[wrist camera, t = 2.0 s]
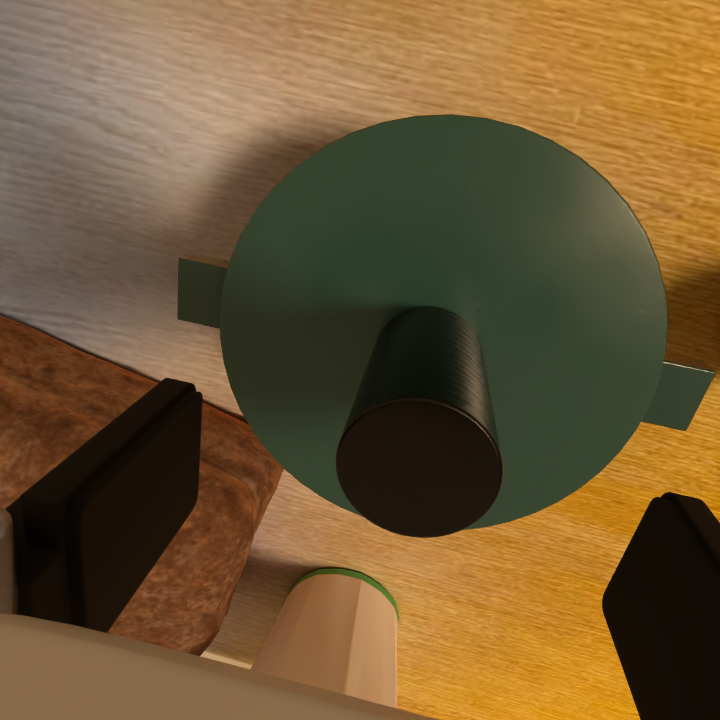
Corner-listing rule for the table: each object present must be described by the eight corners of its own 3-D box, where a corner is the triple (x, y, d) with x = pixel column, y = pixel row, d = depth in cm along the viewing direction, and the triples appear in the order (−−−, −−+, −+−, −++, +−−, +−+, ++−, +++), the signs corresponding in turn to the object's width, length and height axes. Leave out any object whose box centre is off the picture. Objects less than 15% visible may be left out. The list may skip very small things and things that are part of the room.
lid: (247, 77, 15) (79, 17, 8) (738, 165, 14) (1024, 182, 7) (222, 464, 21) (112, 618, 14) (566, 547, 20) (630, 760, 13)
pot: (276, 107, 25) (169, 81, 15) (668, 179, 23) (824, 200, 14) (255, 355, 30) (166, 450, 21) (569, 425, 29) (631, 563, 19)
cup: (347, 688, 41) (295, 967, 27) (232, 596, 39) (111, 847, 25) (462, 623, 36) (472, 922, 22) (337, 515, 34) (262, 769, 20)
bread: (236, 600, 39) (159, 765, 28) (-113, 451, 39) (-319, 562, 28) (305, 431, 32) (236, 569, 21) (-122, 248, 32) (-402, 296, 21)
